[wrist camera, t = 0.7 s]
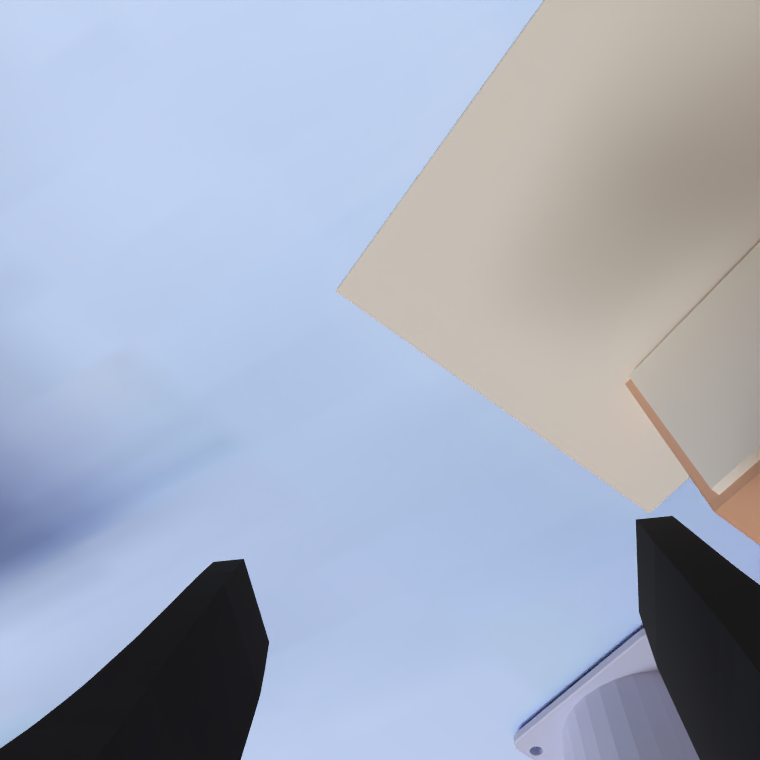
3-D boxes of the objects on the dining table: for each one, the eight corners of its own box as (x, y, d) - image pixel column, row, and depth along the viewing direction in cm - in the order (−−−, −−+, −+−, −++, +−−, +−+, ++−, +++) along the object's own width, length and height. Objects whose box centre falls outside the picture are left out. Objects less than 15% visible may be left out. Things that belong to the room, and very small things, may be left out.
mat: (1020, 164, 18) (1033, 165, 17) (645, 506, 23) (649, 513, 22) (669, -176, 16) (675, -182, 15) (337, 288, 20) (336, 291, 20)
